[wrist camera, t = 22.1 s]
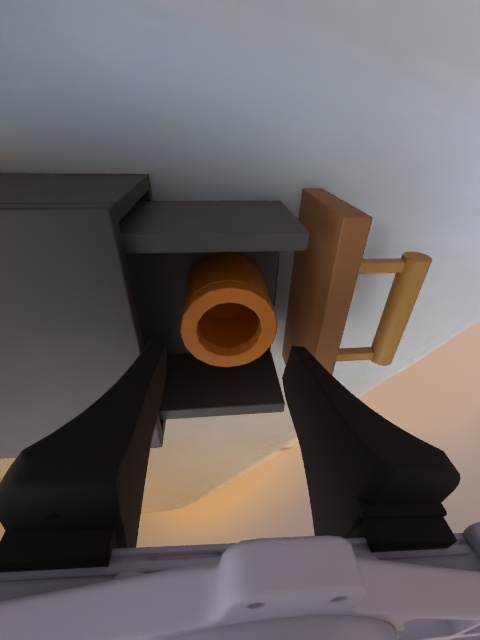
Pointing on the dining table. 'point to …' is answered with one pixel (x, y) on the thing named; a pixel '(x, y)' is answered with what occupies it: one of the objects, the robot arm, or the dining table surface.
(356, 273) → the drawer
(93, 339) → the cabinet
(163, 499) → the dining table surface
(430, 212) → the dining table surface
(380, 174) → the dining table surface
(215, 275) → the jar
